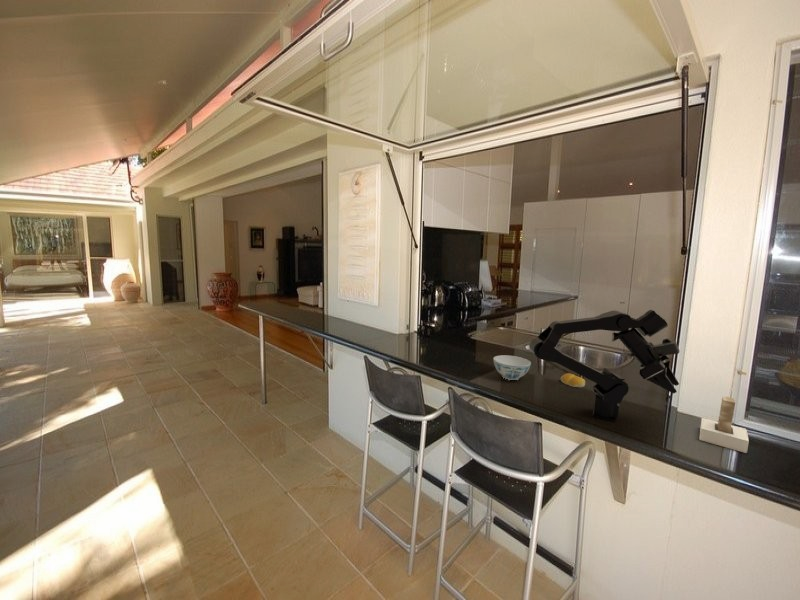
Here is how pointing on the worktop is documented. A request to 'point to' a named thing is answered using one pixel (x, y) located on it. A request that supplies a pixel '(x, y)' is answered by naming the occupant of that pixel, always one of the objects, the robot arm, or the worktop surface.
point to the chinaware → (511, 366)
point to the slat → (726, 414)
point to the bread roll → (573, 380)
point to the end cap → (724, 436)
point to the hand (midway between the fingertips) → (676, 388)
